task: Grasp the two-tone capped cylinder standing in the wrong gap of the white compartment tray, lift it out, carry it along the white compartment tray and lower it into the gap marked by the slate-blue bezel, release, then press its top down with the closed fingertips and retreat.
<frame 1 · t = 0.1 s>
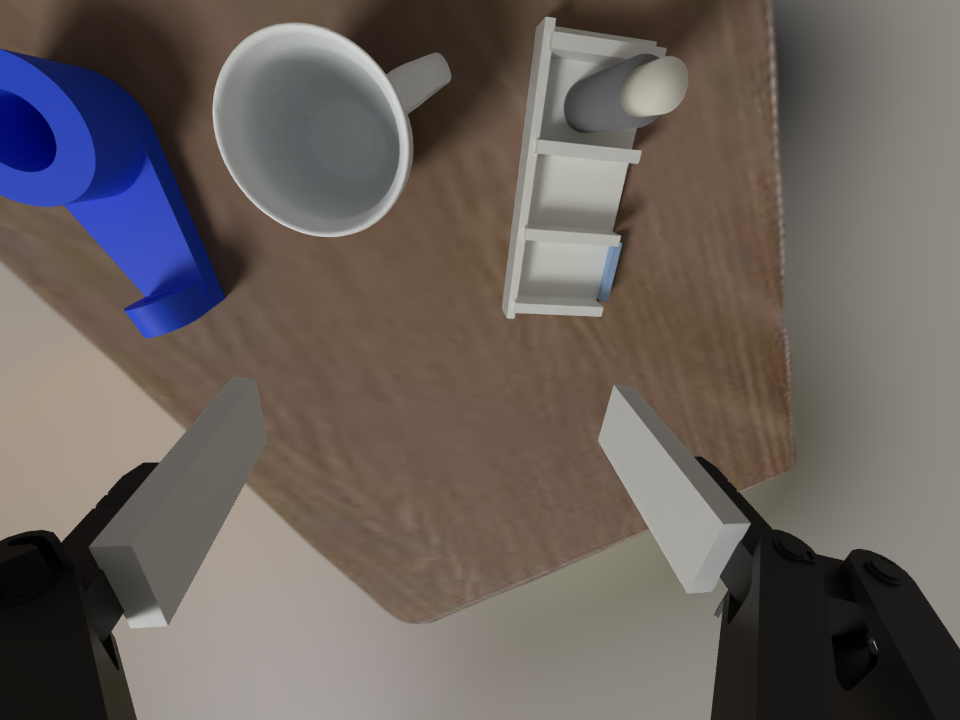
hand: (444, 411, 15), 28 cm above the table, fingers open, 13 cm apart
mug: (362, 135, 35), on the table
white compartment tray: (567, 192, 39), on the table
two-tone capped cylinder: (586, 106, 35), point 1 cm above the table, touching white compartment tray
bracket: (144, 203, 35), on the table
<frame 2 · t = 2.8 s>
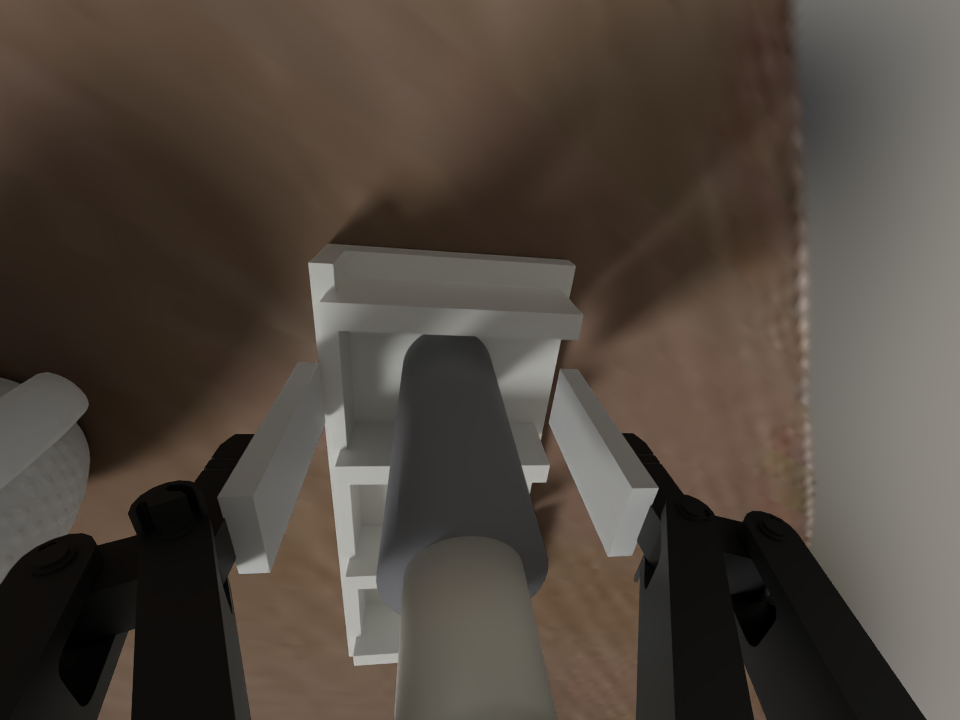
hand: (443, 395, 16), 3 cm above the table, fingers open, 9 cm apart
mug: (26, 420, 18), on the table
white compartment tray: (440, 470, 22), on the table
two-tone capped cylinder: (447, 368, 18), point 1 cm above the table, touching white compartment tray
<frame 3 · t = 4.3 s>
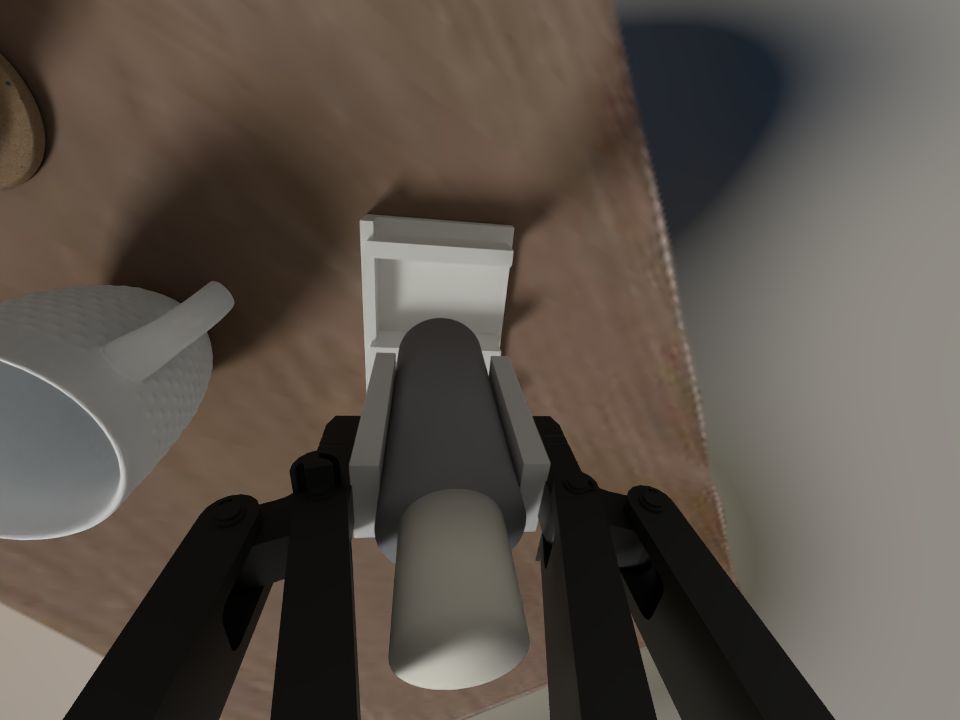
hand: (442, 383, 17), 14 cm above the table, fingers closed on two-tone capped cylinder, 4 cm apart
mug: (172, 328, 29), on the table
white compartment tray: (434, 372, 33), on the table
two-tone capped cylinder: (440, 356, 19), point 12 cm above the table, touching gripper
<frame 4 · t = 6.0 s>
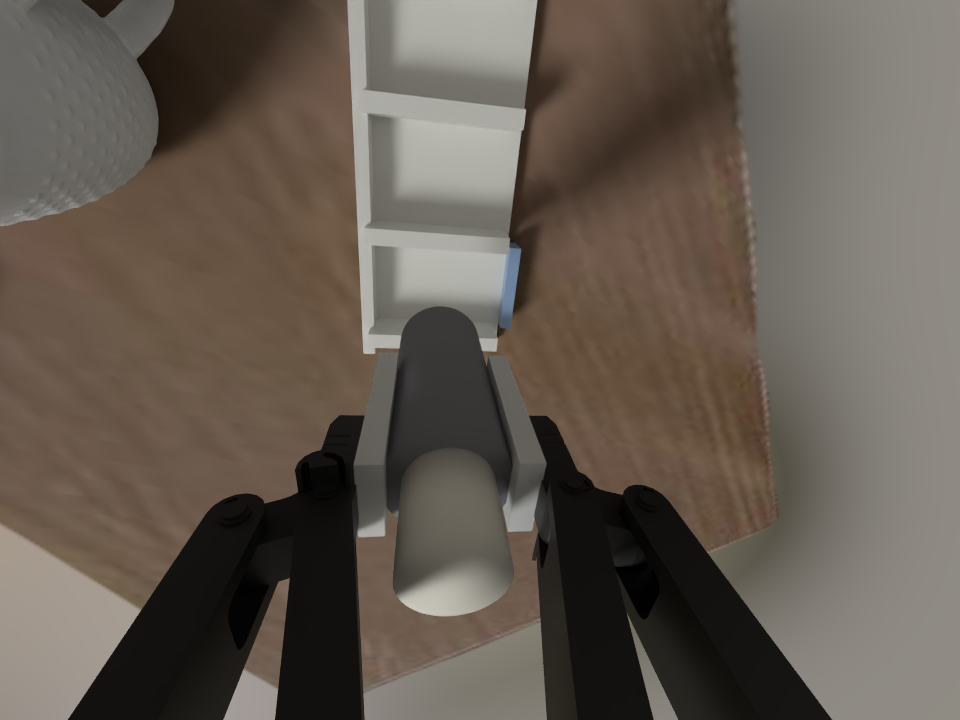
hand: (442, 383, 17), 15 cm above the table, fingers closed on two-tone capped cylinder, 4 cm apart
mug: (108, 87, 23), on the table
white compartment tray: (439, 176, 27), on the table
two-tone capped cylinder: (440, 343, 21), point 11 cm above the table, touching gripper
when the fingers open (5 cm above the table, at t = 8.0 s): two-tone capped cylinder stays where it is, resting on white compartment tray.
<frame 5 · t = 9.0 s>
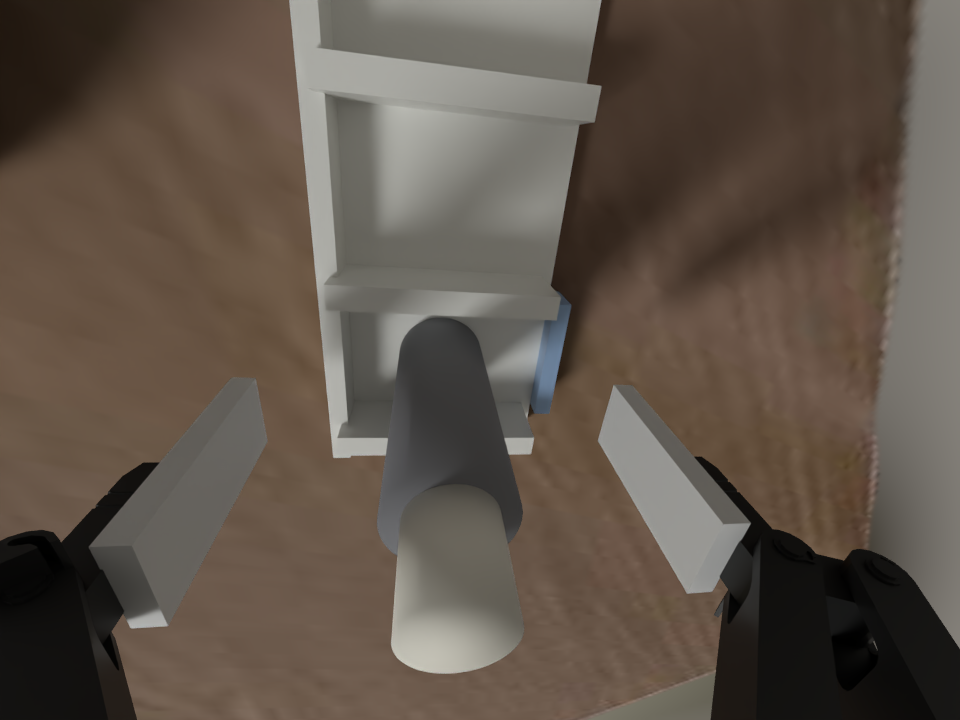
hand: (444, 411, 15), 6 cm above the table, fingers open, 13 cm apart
white compartment tray: (447, 195, 17), on the table
two-tone capped cylinder: (440, 355, 20), point 1 cm above the table, touching white compartment tray
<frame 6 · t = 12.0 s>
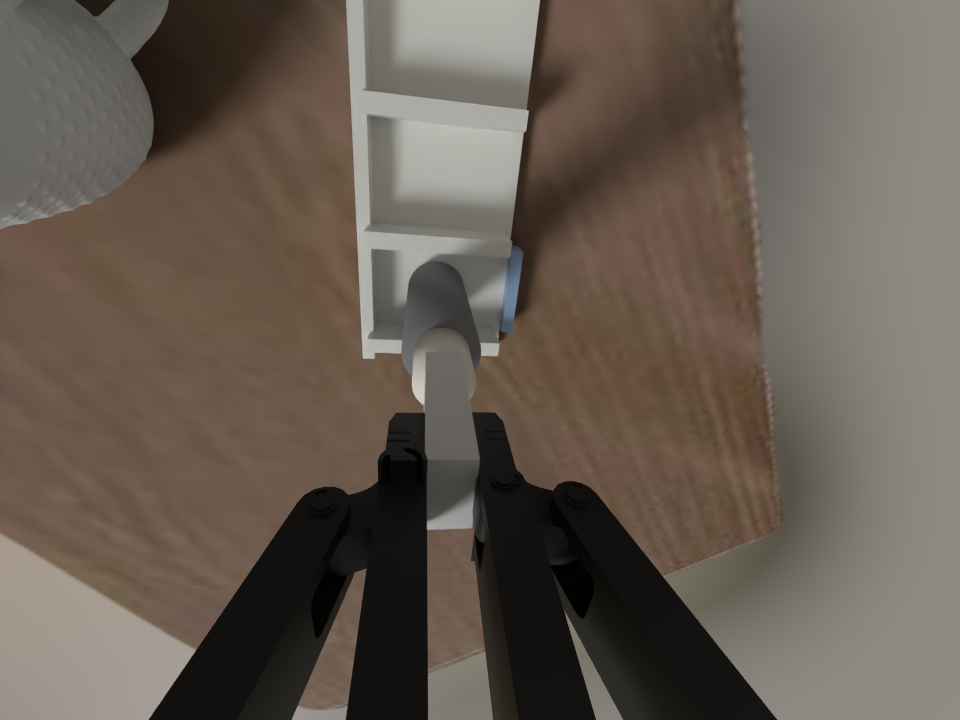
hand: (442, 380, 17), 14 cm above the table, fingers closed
mug: (102, 87, 23), on the table
white compartment tray: (440, 178, 27), on the table
two-tone capped cylinder: (436, 289, 29), point 1 cm above the table, touching white compartment tray, gripper
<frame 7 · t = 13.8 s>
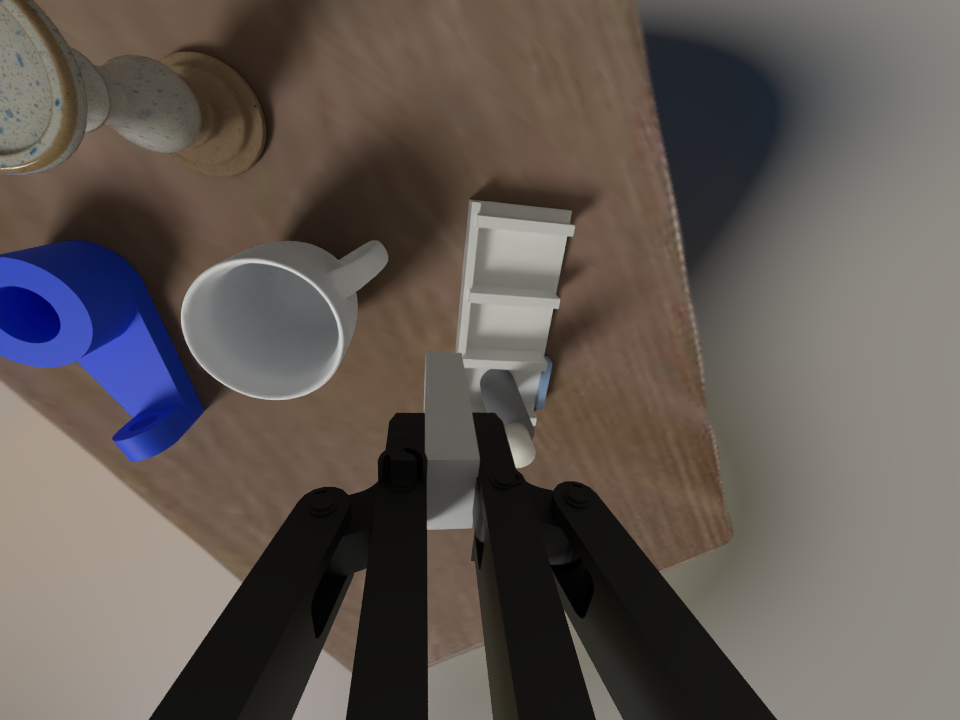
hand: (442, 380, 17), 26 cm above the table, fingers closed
mug: (321, 279, 40), on the table
candle holder: (212, 119, 34), on the table
white compartment tray: (503, 320, 44), on the table
two-tone capped cylinder: (497, 382, 46), point 1 cm above the table, touching white compartment tray
bracket: (134, 338, 41), on the table
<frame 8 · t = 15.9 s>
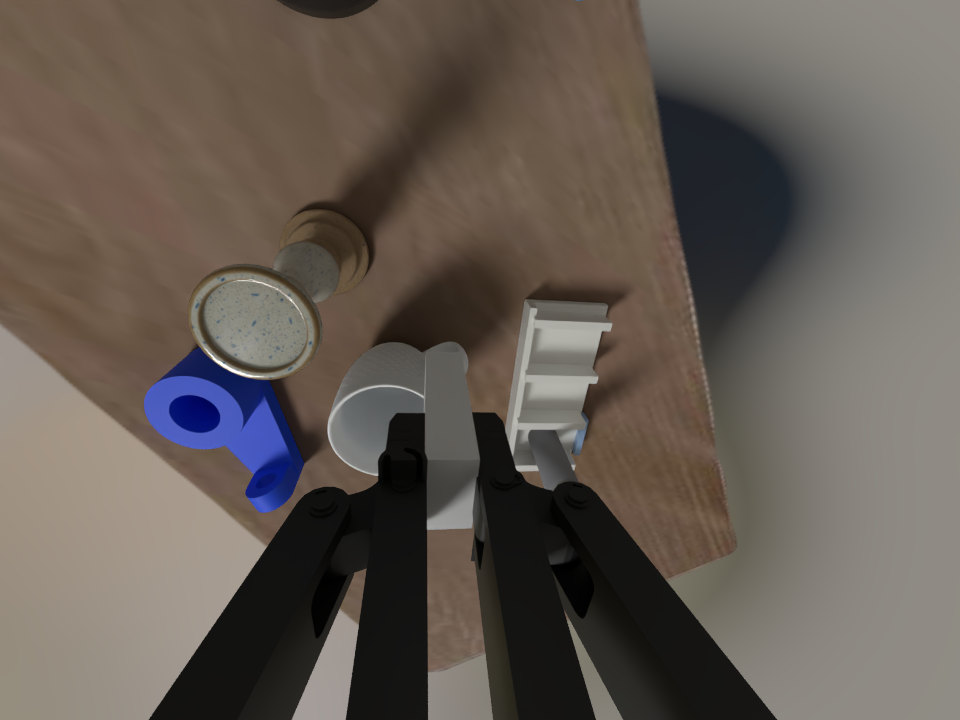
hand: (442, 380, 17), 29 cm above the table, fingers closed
mug: (403, 362, 50), on the table
candle holder: (327, 251, 43), on the table
white compartment tray: (548, 386, 54), on the table
two-tone capped cylinder: (541, 435, 56), point 1 cm above the table, touching white compartment tray
bracket: (253, 411, 51), on the table
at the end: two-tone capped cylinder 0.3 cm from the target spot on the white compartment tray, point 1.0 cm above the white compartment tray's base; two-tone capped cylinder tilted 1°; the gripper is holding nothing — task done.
